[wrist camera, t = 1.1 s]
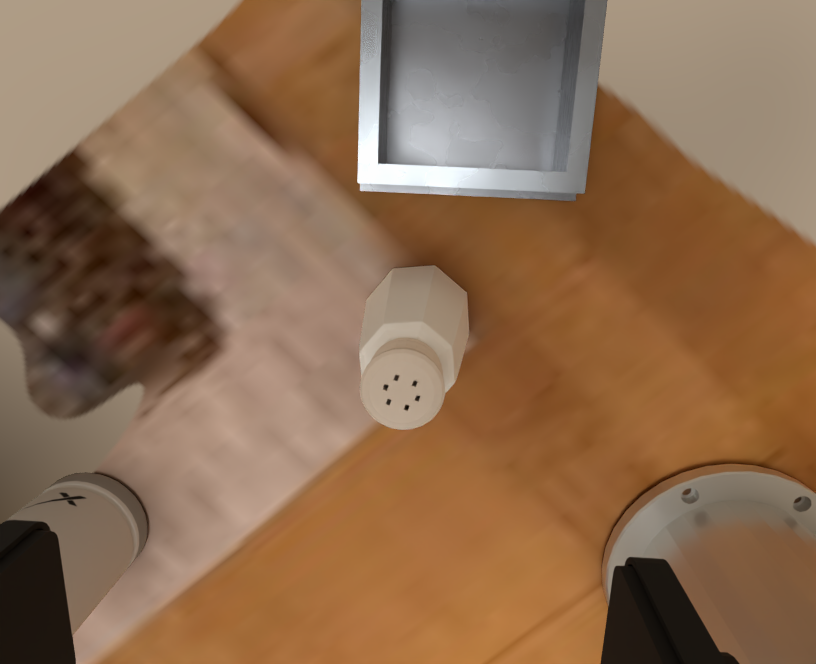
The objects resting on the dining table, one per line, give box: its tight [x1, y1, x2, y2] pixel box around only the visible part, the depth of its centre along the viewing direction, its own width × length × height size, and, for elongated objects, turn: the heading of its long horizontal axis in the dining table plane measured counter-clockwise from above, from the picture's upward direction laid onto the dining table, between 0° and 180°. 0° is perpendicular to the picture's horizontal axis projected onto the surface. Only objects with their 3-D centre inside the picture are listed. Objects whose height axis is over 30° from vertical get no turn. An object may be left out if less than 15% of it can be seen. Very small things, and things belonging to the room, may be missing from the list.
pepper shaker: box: [359, 265, 469, 430], centre depth 24 cm, size 5×5×11 cm
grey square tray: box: [358, 0, 607, 201], centre depth 25 cm, size 10×10×4 cm
